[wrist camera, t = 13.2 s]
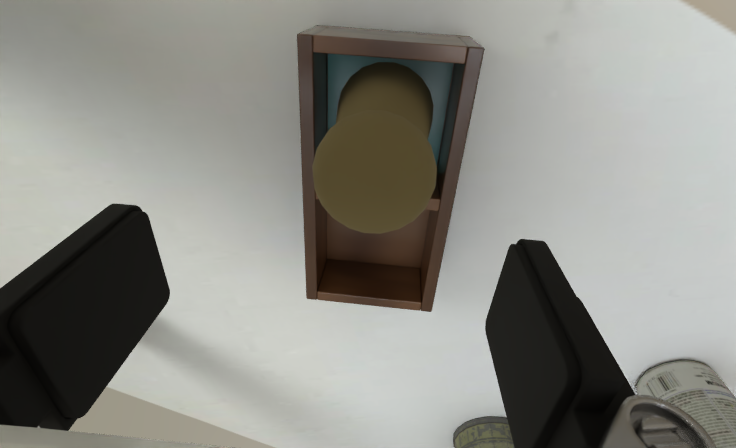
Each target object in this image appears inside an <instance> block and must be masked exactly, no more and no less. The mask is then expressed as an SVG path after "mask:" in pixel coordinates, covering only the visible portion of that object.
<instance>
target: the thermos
mask: <svg viewBox="0 0 736 448" xmlns="http://www.w3.org/2000/svg"><path fill="white" fill-rule="evenodd" d="M453 442H454V447H455V448H514V444H513V440H512V436H511V432H510V428H509V424H508V420H507V418H503V417H483V418H477V419H474V420H471V421H468V422H465V423H464V424H463V425H461V426H460V427H458V428H457V430H456V431H455V433H454V439H453Z"/></svg>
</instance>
